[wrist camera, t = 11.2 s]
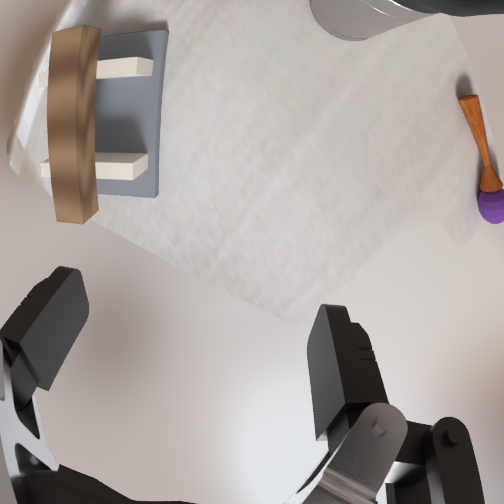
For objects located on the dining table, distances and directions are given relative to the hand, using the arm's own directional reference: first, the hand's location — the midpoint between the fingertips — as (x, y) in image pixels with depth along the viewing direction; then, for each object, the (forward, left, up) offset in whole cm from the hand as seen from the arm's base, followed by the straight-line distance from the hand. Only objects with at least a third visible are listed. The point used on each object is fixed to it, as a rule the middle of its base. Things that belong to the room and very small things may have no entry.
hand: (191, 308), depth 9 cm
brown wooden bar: (-3, -19, -23) cm, 30 cm away
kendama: (-5, +35, -30) cm, 46 cm away
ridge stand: (-3, -19, -30) cm, 35 cm away
